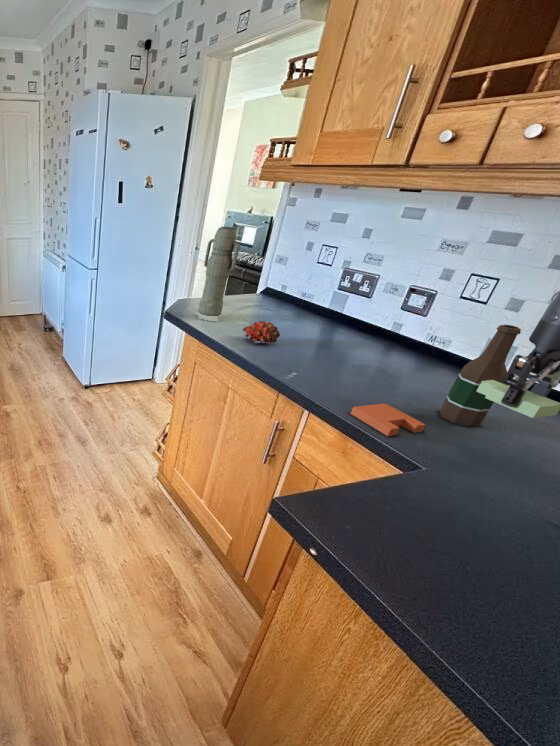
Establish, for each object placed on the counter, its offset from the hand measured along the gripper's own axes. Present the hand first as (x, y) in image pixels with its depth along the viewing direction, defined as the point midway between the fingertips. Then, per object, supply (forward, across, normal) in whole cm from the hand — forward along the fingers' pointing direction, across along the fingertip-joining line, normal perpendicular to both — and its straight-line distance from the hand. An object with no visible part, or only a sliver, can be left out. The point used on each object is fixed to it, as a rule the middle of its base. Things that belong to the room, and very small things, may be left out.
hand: (520, 403), depth 81 cm
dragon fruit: (+14, -4, +68) cm, 69 cm away
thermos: (+14, -7, +96) cm, 97 cm away
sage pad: (+1, 0, +1) cm, 1 cm away
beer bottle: (+14, +12, +14) cm, 23 cm away
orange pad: (+14, -8, +16) cm, 22 cm away
